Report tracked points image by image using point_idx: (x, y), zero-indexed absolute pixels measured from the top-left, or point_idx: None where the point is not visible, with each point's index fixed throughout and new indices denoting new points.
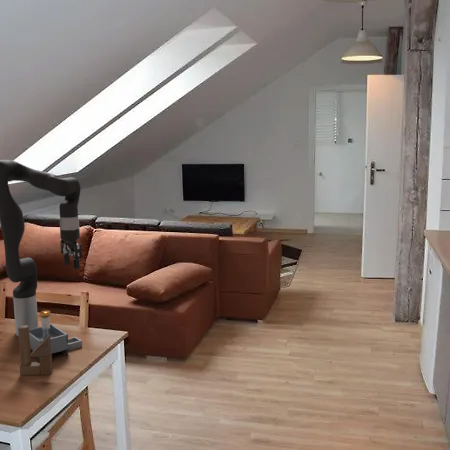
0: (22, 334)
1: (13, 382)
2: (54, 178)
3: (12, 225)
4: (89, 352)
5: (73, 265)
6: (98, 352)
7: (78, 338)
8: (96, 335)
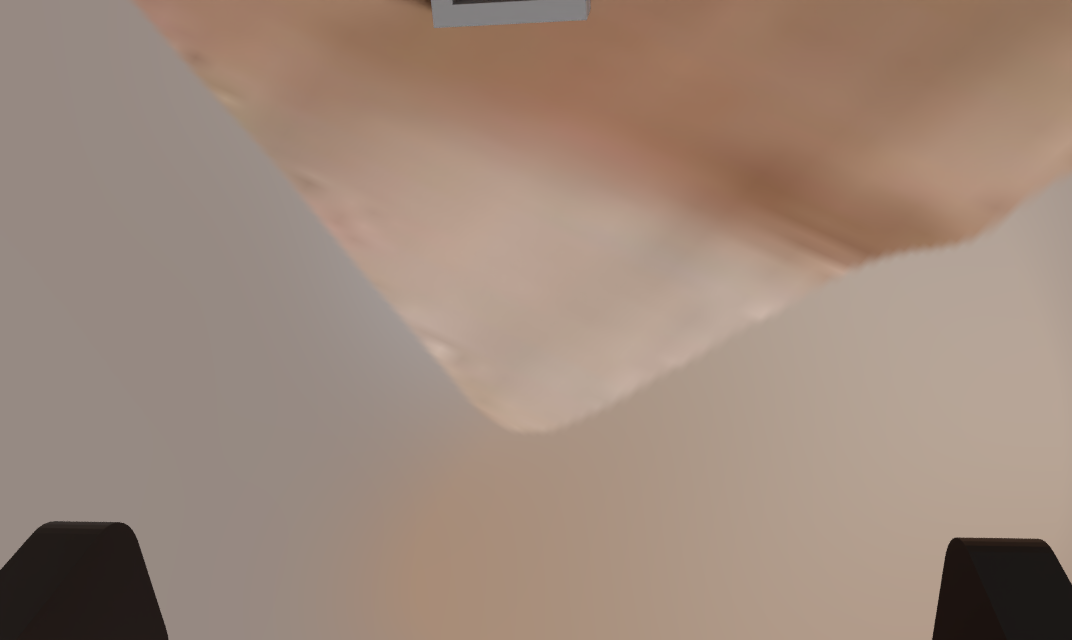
0: None
1: None
2: None
3: None
4: (270, 11)
5: (39, 608)
6: (229, 79)
7: (512, 21)
8: (622, 241)
